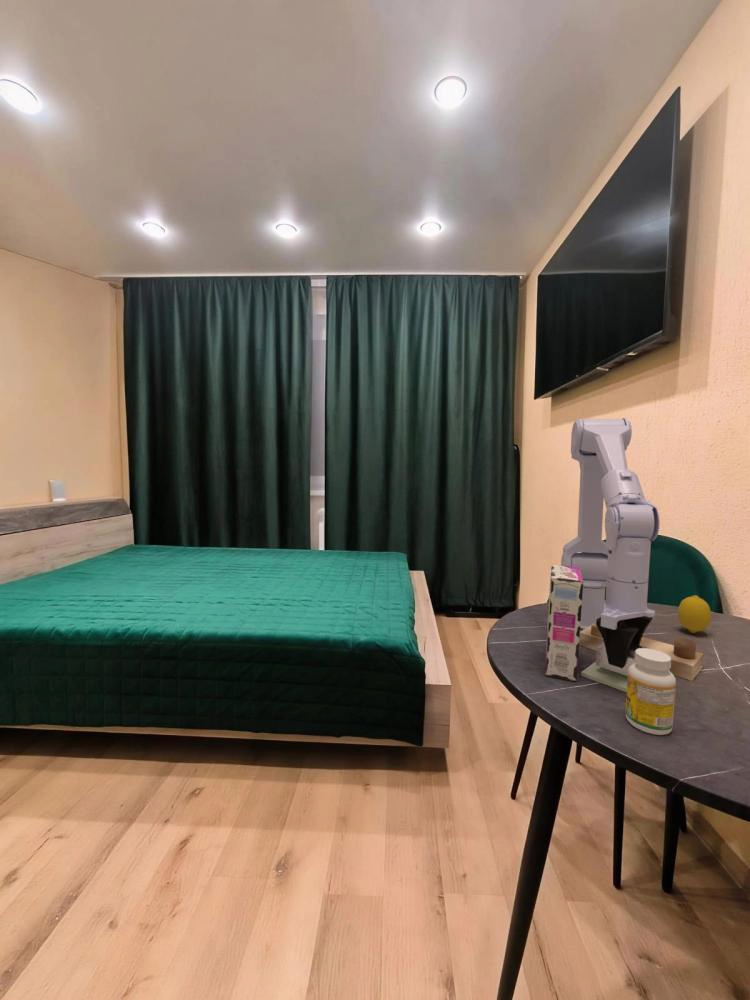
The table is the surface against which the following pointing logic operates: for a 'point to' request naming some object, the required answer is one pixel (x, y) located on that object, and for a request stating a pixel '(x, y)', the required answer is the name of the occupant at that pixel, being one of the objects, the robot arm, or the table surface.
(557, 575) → the candy bar box
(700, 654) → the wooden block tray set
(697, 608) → the lemon
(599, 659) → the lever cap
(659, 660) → the supplement bottle
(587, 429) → the robot arm
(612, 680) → the felt mat
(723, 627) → the table surface
